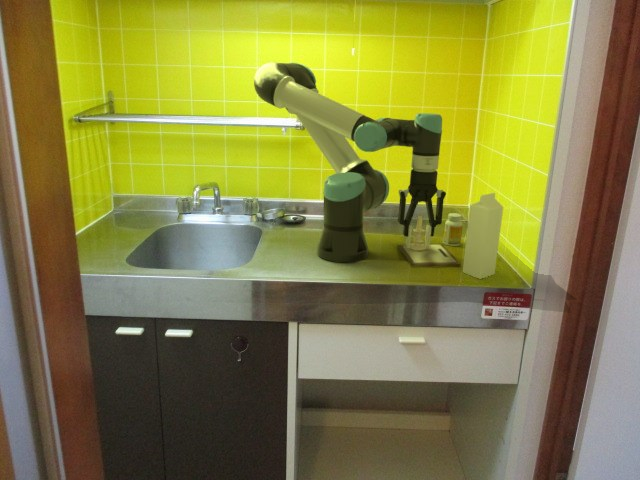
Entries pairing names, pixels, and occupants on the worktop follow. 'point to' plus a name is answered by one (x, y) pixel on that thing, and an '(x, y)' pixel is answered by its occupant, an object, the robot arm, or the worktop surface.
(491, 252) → the milk
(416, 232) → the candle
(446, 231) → the supplement bottle
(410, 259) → the writing board
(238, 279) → the worktop surface
